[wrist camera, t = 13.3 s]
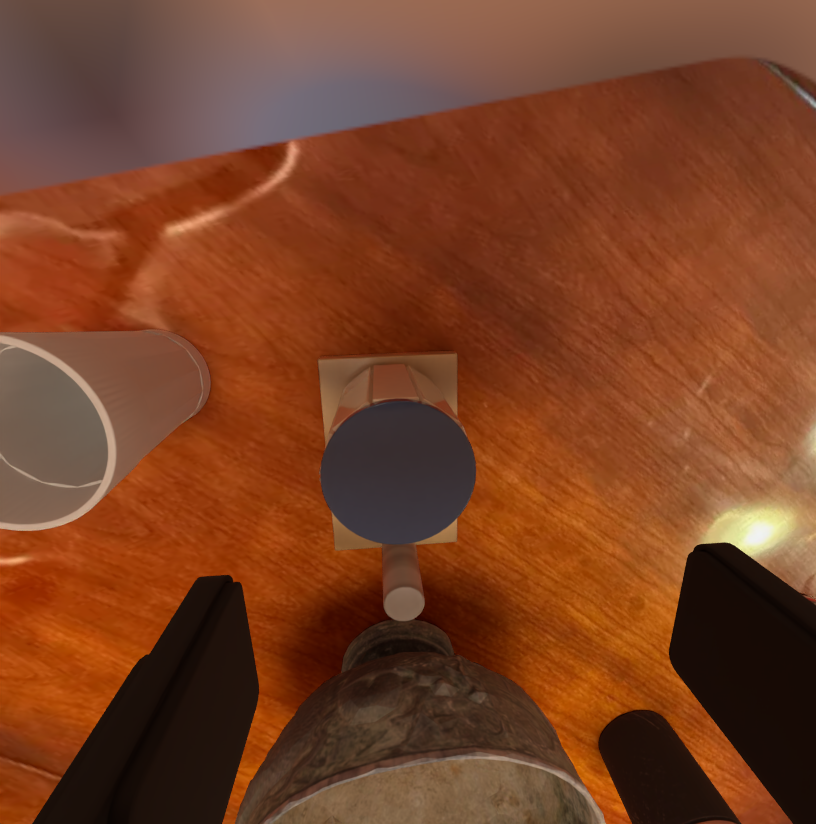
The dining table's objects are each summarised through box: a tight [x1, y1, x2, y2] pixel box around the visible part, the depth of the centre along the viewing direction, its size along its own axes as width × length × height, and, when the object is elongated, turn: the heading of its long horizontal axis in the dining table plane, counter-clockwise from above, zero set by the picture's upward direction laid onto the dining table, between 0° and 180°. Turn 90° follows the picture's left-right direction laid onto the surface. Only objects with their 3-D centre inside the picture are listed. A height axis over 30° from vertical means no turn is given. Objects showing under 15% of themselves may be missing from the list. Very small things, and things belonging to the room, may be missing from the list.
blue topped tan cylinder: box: [319, 364, 476, 545], centre depth 22 cm, size 7×7×9 cm
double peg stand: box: [318, 351, 457, 621], centre depth 24 cm, size 14×9×12 cm, turn 2°
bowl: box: [235, 619, 606, 824], centre depth 28 cm, size 20×19×15 cm
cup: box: [0, 329, 211, 531], centre depth 22 cm, size 8×8×12 cm
